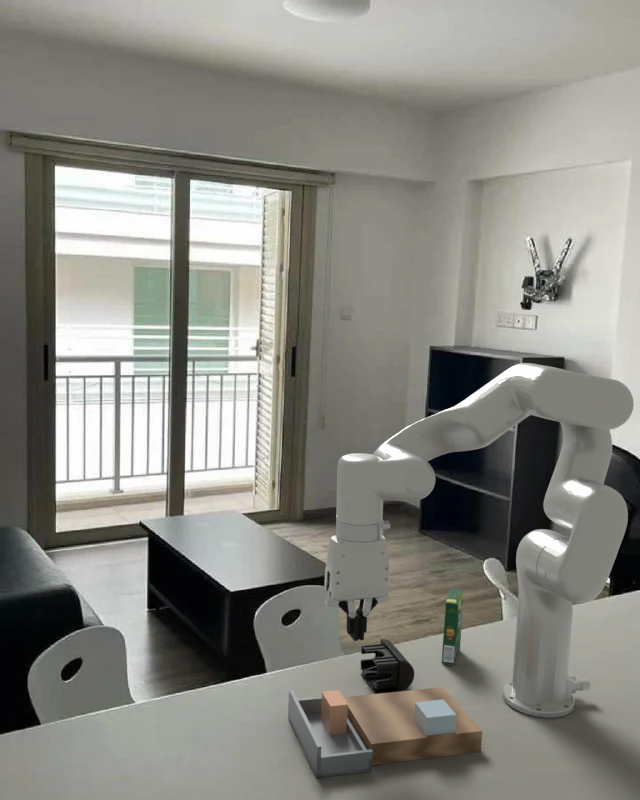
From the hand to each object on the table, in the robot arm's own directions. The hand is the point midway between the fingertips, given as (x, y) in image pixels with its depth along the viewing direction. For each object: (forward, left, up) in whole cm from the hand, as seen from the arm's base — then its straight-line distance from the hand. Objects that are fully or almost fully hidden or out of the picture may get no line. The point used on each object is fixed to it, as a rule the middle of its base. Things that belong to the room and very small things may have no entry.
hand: (356, 637), depth 136 cm
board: (-9, +4, -16) cm, 18 cm away
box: (+5, +4, -16) cm, 17 cm away
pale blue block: (-11, +9, -12) cm, 19 cm away
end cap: (-11, -13, -16) cm, 24 cm away
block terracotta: (+2, 0, -13) cm, 13 cm away
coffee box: (-28, -21, -16) cm, 39 cm away
